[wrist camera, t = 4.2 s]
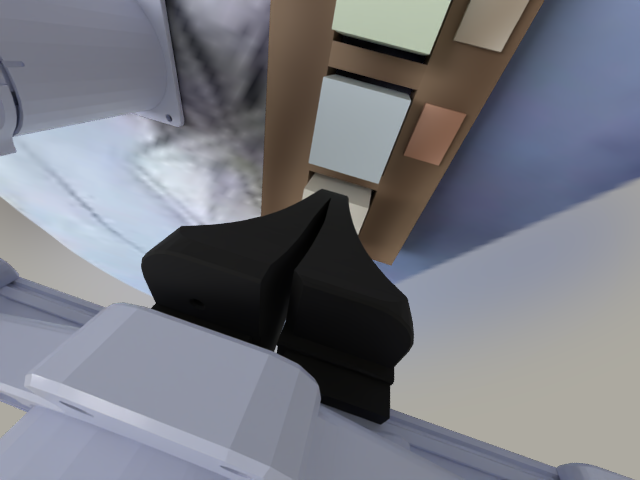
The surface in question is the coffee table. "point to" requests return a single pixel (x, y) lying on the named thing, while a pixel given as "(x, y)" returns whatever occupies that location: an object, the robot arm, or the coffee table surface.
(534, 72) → the coffee table surface
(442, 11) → the sage key
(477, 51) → the keypad
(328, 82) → the bluegrey key
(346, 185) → the offwhite key
